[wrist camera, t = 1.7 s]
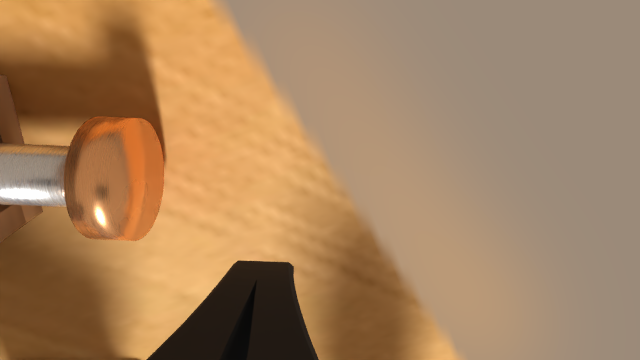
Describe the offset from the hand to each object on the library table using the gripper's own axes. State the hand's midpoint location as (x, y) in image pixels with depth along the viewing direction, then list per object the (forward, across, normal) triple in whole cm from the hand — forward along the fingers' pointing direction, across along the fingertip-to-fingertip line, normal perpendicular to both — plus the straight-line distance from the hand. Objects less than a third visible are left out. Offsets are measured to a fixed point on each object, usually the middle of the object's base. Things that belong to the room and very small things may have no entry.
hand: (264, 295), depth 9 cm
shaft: (+9, +11, 0) cm, 14 cm away
